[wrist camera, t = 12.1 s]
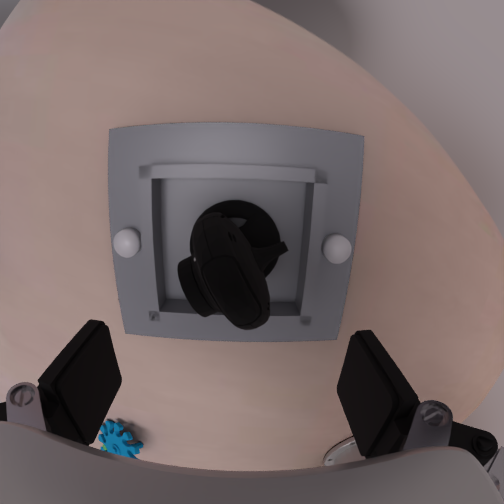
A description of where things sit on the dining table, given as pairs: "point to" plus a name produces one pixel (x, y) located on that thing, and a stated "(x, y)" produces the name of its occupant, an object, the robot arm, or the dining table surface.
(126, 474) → the robot arm
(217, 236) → the webcam
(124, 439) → the gear
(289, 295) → the housing
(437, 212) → the dining table surface
